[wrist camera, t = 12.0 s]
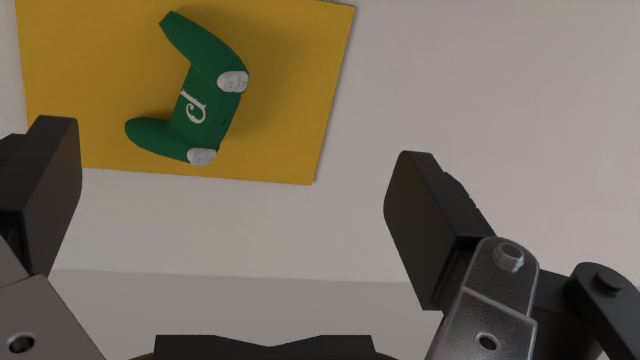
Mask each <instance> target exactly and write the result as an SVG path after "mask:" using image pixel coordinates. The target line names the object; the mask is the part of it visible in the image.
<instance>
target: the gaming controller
mask: <svg viewBox="0 0 640 360" xmlns="http://www.w3.org/2000/svg"><path fill="white" fill-rule="evenodd" d="M158 24H159V26H160V27H161V29H162V30H163V32H164V33H165V35H166V37H167V38H168V40H169V41H170V42H171V43H172V44H173V45H174V47H175V48H176V49H177V50H178V51H179V52H181V53H182V54H183V55H184V56H185V57H186V58H187V59H188V60H189V61H190V62H191V66H190V68H189V71H188V73H187V76H186V78H185V81H184V83H183V86H182V89H181V91H180V94H179V97H178V99H177V102H176V104H175V107H174V110H173V113H172V116H171V118H170V120H164V119H156V118H148V117H138V118H132V119H129V120H128V121H126V122H125V127H124V128H125V133H126V135H127V137H128V138H129V140H130V141H132V142H133V143H134V144H136V145H137V146H138V147H140V148H142V149H145V150H147V151H150V152H152V153H155V154H158V155H161V156H164V157H168V158H172V159H175V160H179V161H183V162H186V163H189V164H192V165H194V166H204V165H207V164H209V163H210V162H211V161H212V160H213V159H214V158H215V156H216V154H217V152H218V150H219V149H220V144H221V142H222V140H223V138H224V136H225V135H226V133H227V131H228V128H229V126H230V124H231V122H232V119H233V117H234V115H235V112H236V110H237V108H238V105H239V102H240V99H241V94H242V93H245V90H246V87H247V84H248V80H249V72H248V70H247V68H246V66H245V65H244V64H243V62H242V61H241V59H240V57H239V56H237V54H236V53H235V52H234V51H233V50H232V49H231V48H230V47H229V46H228V45H227V44H225V43H224V42H223V41H222V40H221V39H219V38H218V37H217V36H215V35H214V34H212V33H211V32H209V31H208V30H206V29H204V28H203V27H201V26H200V25H198V24H196V23H195V22H193V21H191V20H189V19H188V18H186V17H184V16H182V15H180V14H178V13H176V12H173V11H169V13H168V14H167V15H166V16H165V17H164V18H163V19H162V20H161V21H160V22H159V23H158Z"/></svg>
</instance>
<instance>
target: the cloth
mask: <svg viewBox="0 0 640 360" xmlns="http://www.w3.org/2000/svg"><path fill="white" fill-rule="evenodd" d="M15 8H16V17H17V27H18V36H19V46H20V55H21V64H22V74H23V83H24V93H25V102H26V111H27V121H28V130H29V128H30V127H31V126H32V124H33V123H34V121H35V120H36V118H37V117H38V116H39V115H52V116H62V117H72V118H76V119H77V121H78V126H79V137H80V151H81V165H82V167H87V168H100V169H112V170H125V171H138V172H150V173H163V174H176V175H188V176H201V177H214V178H226V179H239V180H252V181H264V182H277V183H290V184H302V185H312V183H313V179H314V175H315V171H316V167H317V163H318V159H319V154H320V150H321V146H322V142H323V138H324V134H325V130H326V126H327V121H328V117H329V113H330V109H331V105H332V101H333V97H334V93H335V89H336V84H337V80H338V76H339V72H340V68H341V64H342V60H343V56H344V51H345V47H346V43H347V39H348V35H349V31H350V27H351V23H352V19H353V14H354V10H355V7H354V6H349V5H343V4H338V3H332V2H327V1H321V0H15ZM169 11H173V12H176V13H178V14H180V15H182V16H184V17H186V18H188V19H189V20H191V21H193V22H195V23H196V24H198V25H200V26H201V27H203V28H204V29H206V30H208V31H209V32H211V33H212V34H214V35H215V36H217V37H218V38H219V39H221V40H222V41H223V42H224V43H225V44H227V45H228V46H229V47H230V48H231V49H232V50H233V51H234V52H235V53H236V54H237V56H239V57H240V59H241V61H242V62H243V64H244V65H245V66H246V68H247V70H248V72H249V80H248V84H247V87H246V90H245V93H242V94H241V99H240V102H239V105H238V108H237V110H236V112H235V115H234V117H233V119H232V122H231V124H230V126H229V128H228V131H227V133H226V135H225V136H224V138H223V140H222V142H221V144H220V149H219V150H218V152H217V154H216V156H215V158H214V159H213V160H212V161H211V162H210V163H209V164H207V165H204V166H194V165H192V164H189V163H186V162H183V161H179V160H175V159H172V158H168V157H164V156H161V155H158V154H155V153H152V152H150V151H147V150H145V149H142V148H140V147H138V146H137V145H136V144H134V143H133V142H132V141H130V140H129V138H128V137H127V135H126V133H125V128H124V127H125V122H126V121H128V120H129V119H132V118H138V117H148V118H156V119H164V120H170V118H171V116H172V113H173V110H174V107H175V104H176V102H177V99H178V97H179V94H180V91H181V89H182V86H183V83H184V81H185V78H186V76H187V73H188V71H189V68H190V66H191V62H190V61H189V60H188V59H187V58H186V57H185V56H184V55H183V54H182V53H181V52H179V51H178V50H177V49H176V48H175V47H174V45H173V44H172V43H171V42H170V41H169V40H168V38H167V37H166V35H165V33H164V32H163V30H162V29H161V27H160V26H159V24H158V23H159V22H160V21H161V20H162V19H163V18H164V17H165V16H166V15H167V14H168V13H169Z"/></svg>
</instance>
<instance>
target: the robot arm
mask: <svg viewBox="0 0 640 360" xmlns="http://www.w3.org/2000/svg"><path fill="white" fill-rule="evenodd" d="M81 189H82V165H81V151H80V137H79V126H78V121H77V119H76V118H72V117H62V116H52V115H39V116H38V117H37V118H36V120H35V121H34V123H33V124H32V126H31V127H30V128H29V130H28V131H27V133H26V134H14V133H12V134H10V135H8V136H6V137H5V138H3V139H1V140H0V360H106V359H105V358H104V356H103V354H102V353H101V352H100V350H99V349H98V348H97V346H96V345H95V344H94V342H93V341H92V339H91V338H90V337H89V335H88V334H87V333H86V331H85V330H84V328H83V327H82V326H81V324H80V323H79V322H78V320H77V319H76V318H75V316H74V315H73V313H72V312H71V311H70V310H69V308H68V307H67V305H66V304H65V303H64V301H63V300H62V298H61V297H60V296H59V294H58V293H57V292H56V290H55V289H54V287H53V286H52V285H51V283H50V282H49V281H48V279H47V278H48V276H49V273H50V271H51V268H52V266H53V263H54V261H55V258H56V256H57V254H58V251H59V249H60V246H61V244H62V241H63V239H64V236H65V234H66V231H67V229H68V226H69V224H70V221H71V219H72V217H73V214H74V212H75V209H76V207H77V204H78V202H79V199H80V195H81ZM383 212H384V218H385V221H386V224H387V226H388V229H389V231H390V233H391V236H392V238H393V240H394V243H395V245H396V248H397V250H398V252H399V255H400V257H401V259H402V262H403V264H404V267H405V269H406V271H407V274H408V276H409V279H410V281H411V283H412V286H413V288H414V290H415V293H416V295H417V298H418V300H419V302H420V305H421V307H422V309H423V310H434V311H435V310H436V311H438V310H439V311H442V312H443V314H444V316H443V318H442V320H441V322H440V325H439V327H438V329H437V331H436V334H435V336H434V338H433V341H432V343H431V345H430V348H429V350H428V352H427V355H426V357H425V359H424V360H597V358H598V357H599V356H600V355H601V353H602V352H603V351H605V353H606V354H607V356H608V357H609V359H610V360H640V292H639V291H638V290H637V289H636V288H635V286H634V285H633V284H632V283H631V282H630V281H629V280H627V279H626V278H625V277H624V276H622V275H621V274H619V273H618V272H616V271H614V270H612V269H611V268H608V267H606V266H603V265H601V264H597V263H592V262H583V263H580V264H578V265H577V266H576V267H575V269H574V271H573V272H572V274H571V275H570V277H567V276H564V275H560V274H557V273H553V272H549V271H546V270H542V269H540V266H539V263H538V261H537V260H536V258H535V257H534V256H533V255H532V253H530V252H529V251H528V250H527V249H526V248H524V247H523V246H521V245H519V244H518V243H516V242H514V241H511V240H509V239H505V238H502V237H497V235H496V234H495V232H494V231H493V229H492V228H491V226H490V225H489V224H488V222H487V221H486V219H485V218H484V216H483V215H482V213H481V212H480V210H479V209H478V208H476V205H475V203H474V202H473V200H472V199H471V198H469V194H468V193H467V191H466V190H465V189H464V187H463V186H462V184H461V183H460V182H458V181H457V180H456V179H455V178H453V177H452V176H451V175H450V174H448V173H447V172H443V170H442V169H441V167H440V166H439V164H438V163H437V161H436V160H435V158H434V157H433V155H432V154H431V153H426V152H416V151H405V150H404V151H402V152H401V153H400V154H399V156H398V159H397V162H396V165H395V168H394V171H393V174H392V177H391V180H390V183H389V186H388V189H387V192H386V195H385V199H384V207H383ZM129 360H398V359H395V358H393V357H391V356H388V355H384V354H382V353H378V352H376V351H375V348H374V345H373V341H372V338H371V335H320V336H316V337H312V338H307V339H303V340H299V341H295V342H290V343H286V344H282V345H277V346H270V347H267V346H262V345H257V344H253V343H248V342H243V341H238V340H234V339H229V338H225V337H219V336H216V335H156V339H155V347H154V352H153V353H149V354H145V355H141V356H138V357H135V358H132V359H129Z"/></svg>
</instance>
